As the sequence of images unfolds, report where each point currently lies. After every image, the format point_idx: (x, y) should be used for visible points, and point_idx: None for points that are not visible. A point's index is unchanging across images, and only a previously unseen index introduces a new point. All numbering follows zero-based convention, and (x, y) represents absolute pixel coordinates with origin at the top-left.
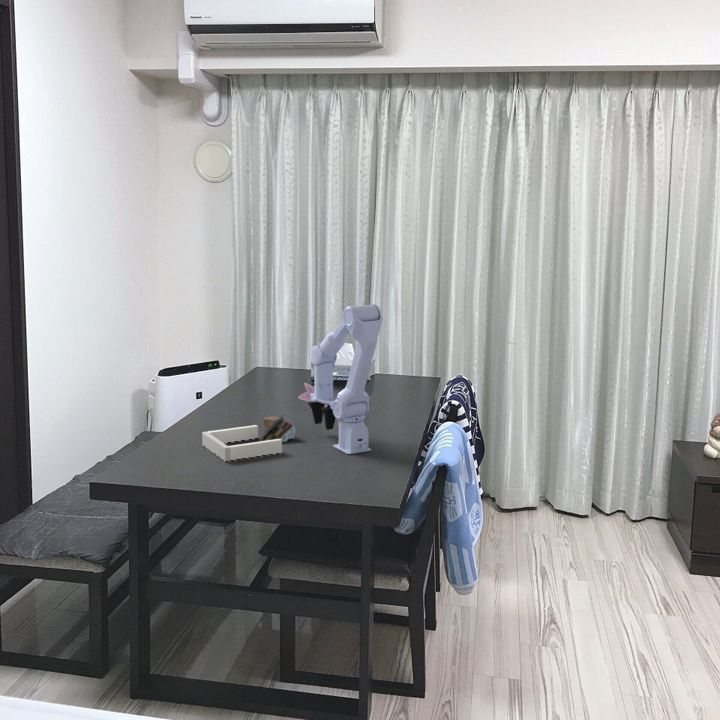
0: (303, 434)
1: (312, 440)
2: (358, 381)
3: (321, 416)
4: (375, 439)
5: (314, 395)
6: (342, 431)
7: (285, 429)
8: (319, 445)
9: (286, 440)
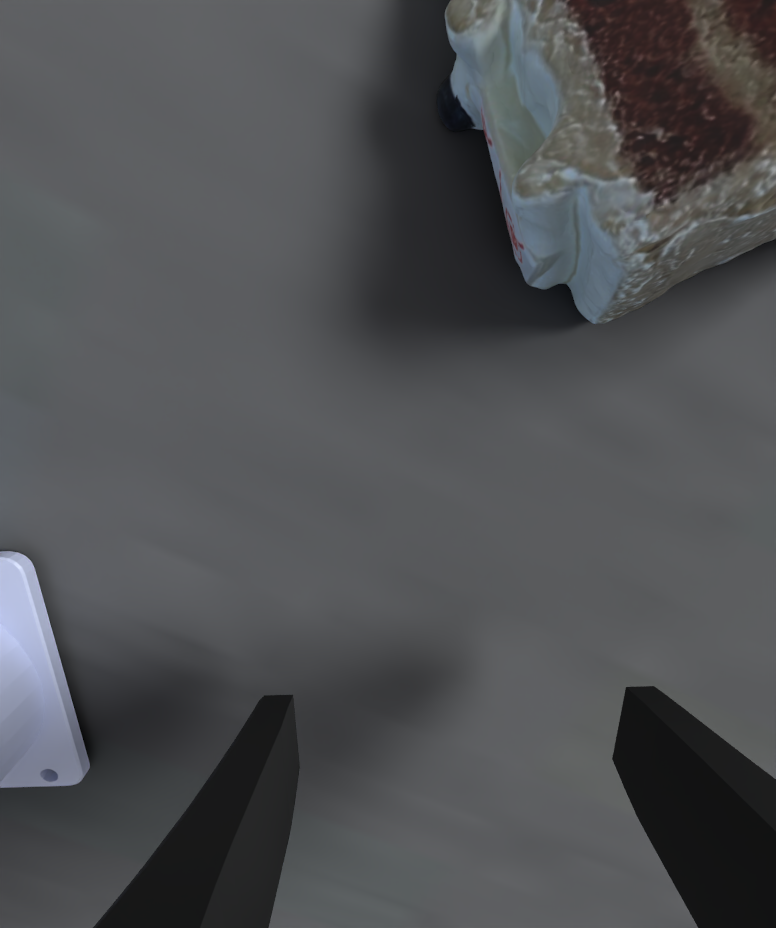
0: (647, 482)
1: (372, 466)
2: None
3: (688, 883)
4: None
5: None
6: None
7: (659, 18)
8: (144, 448)
9: (453, 80)
